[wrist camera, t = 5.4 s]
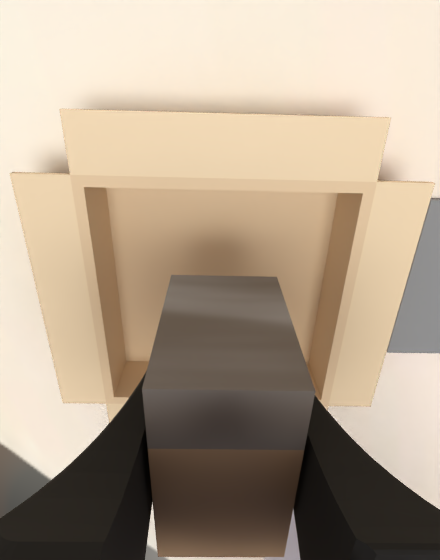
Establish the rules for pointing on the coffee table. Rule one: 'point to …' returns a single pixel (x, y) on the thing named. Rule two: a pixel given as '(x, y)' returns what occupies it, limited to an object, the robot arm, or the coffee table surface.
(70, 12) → the coffee table surface
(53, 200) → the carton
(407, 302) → the slate mat
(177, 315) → the walnut block
